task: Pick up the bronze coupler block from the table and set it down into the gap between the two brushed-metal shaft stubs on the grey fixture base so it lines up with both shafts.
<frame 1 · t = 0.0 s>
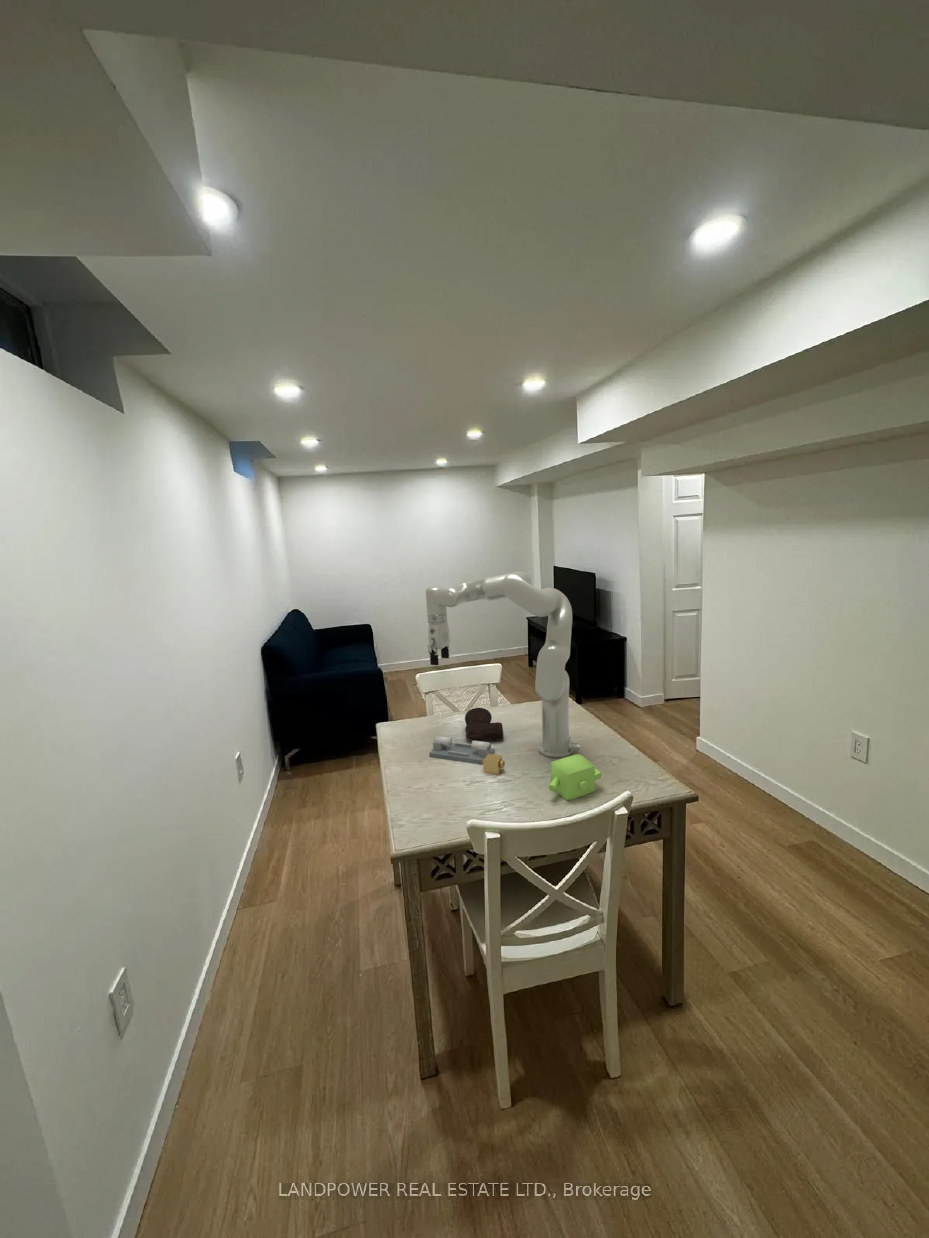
hand: (440, 661, 192), 31 cm above the table, fingers open, 9 cm apart
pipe: (484, 736, 197), on the table
coupler: (493, 770, 168), on the table
grey fixture base: (462, 754, 181), on the table
gearbox: (572, 792, 153), on the table
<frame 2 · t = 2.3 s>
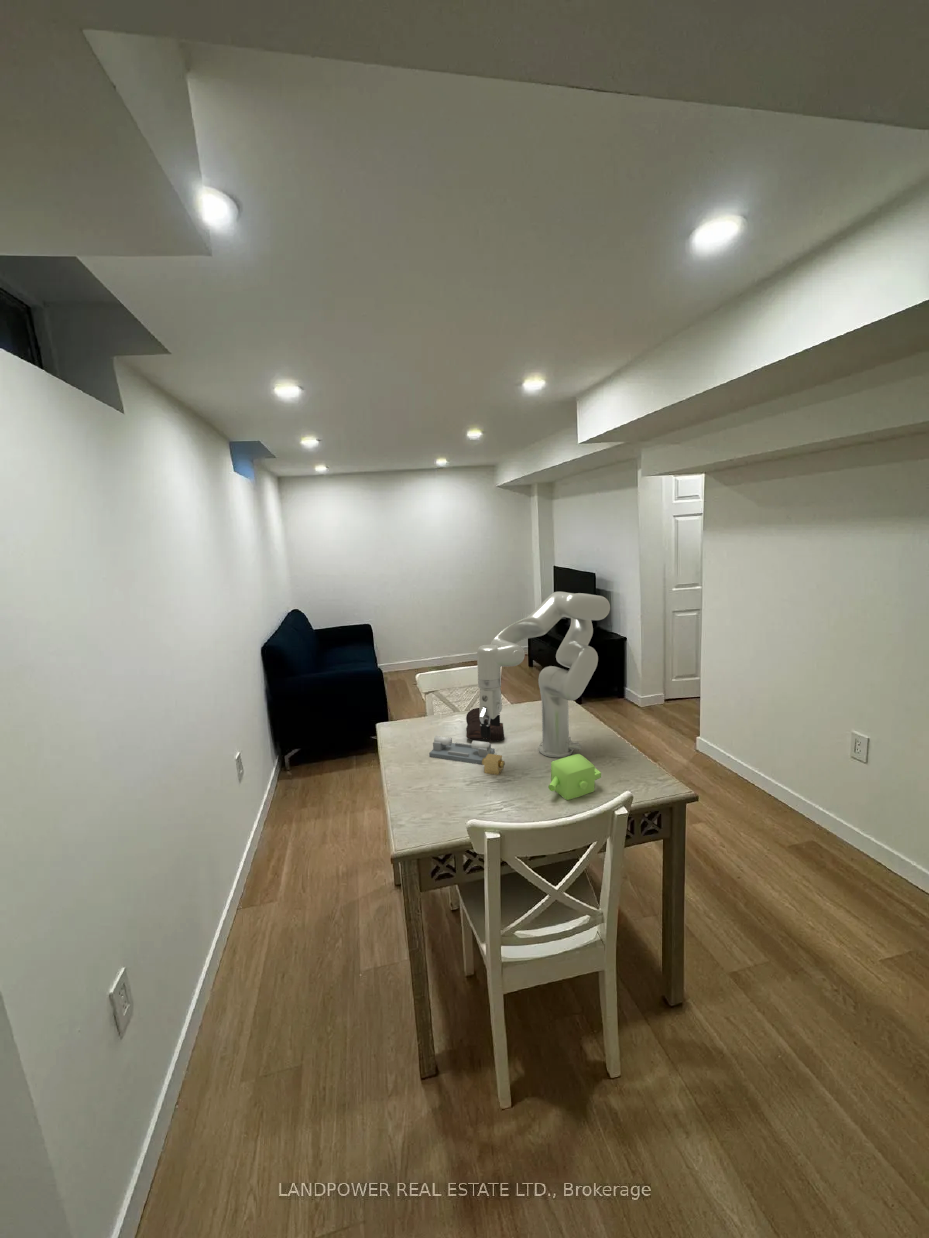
hand: (490, 731, 165), 15 cm above the table, fingers open, 9 cm apart
nothing on the table moved.
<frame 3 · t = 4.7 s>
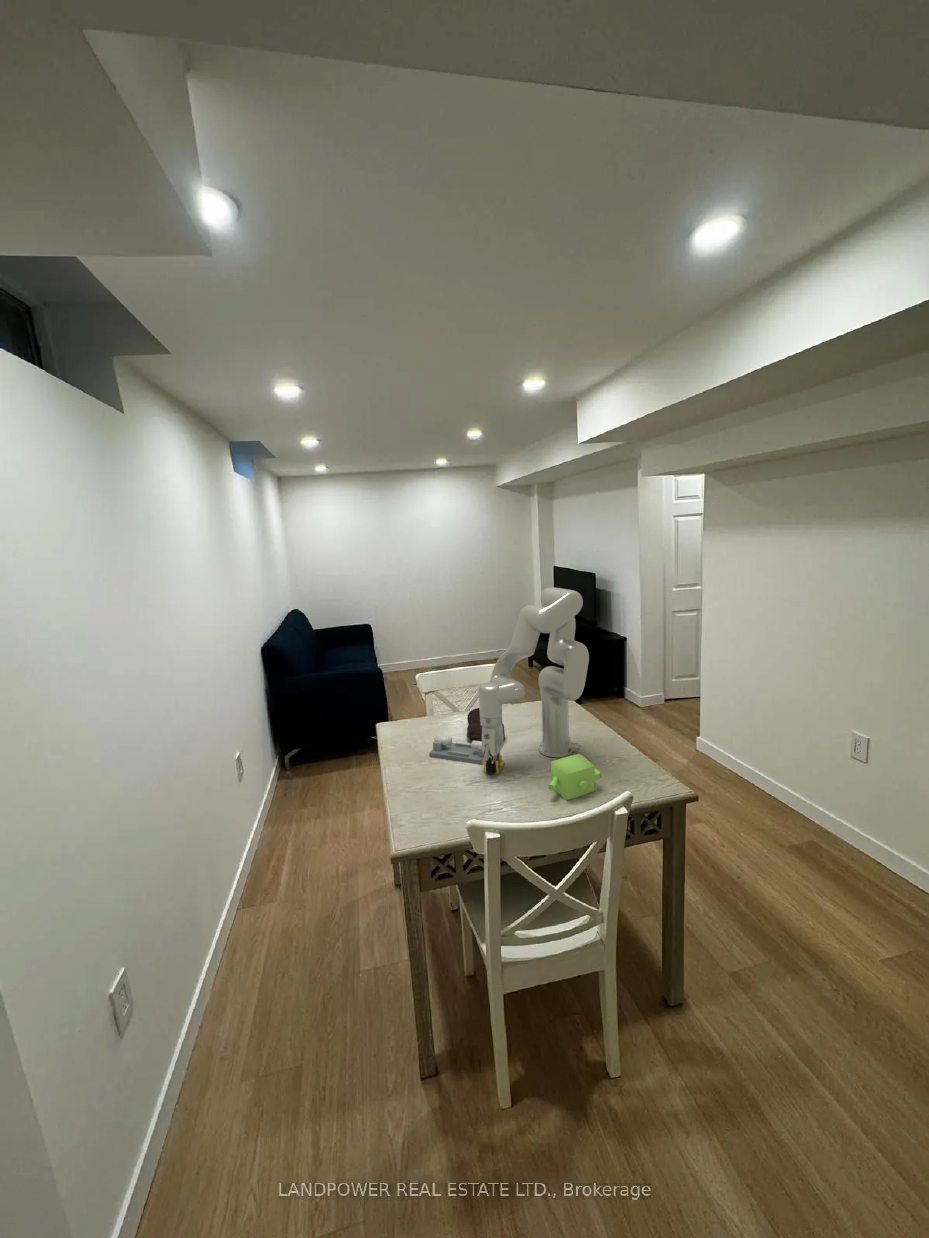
hand: (493, 769, 168), 1 cm above the table, fingers closed on coupler, 4 cm apart
coupler: (493, 770, 168), on the table, touching gripper
everything else where it was.
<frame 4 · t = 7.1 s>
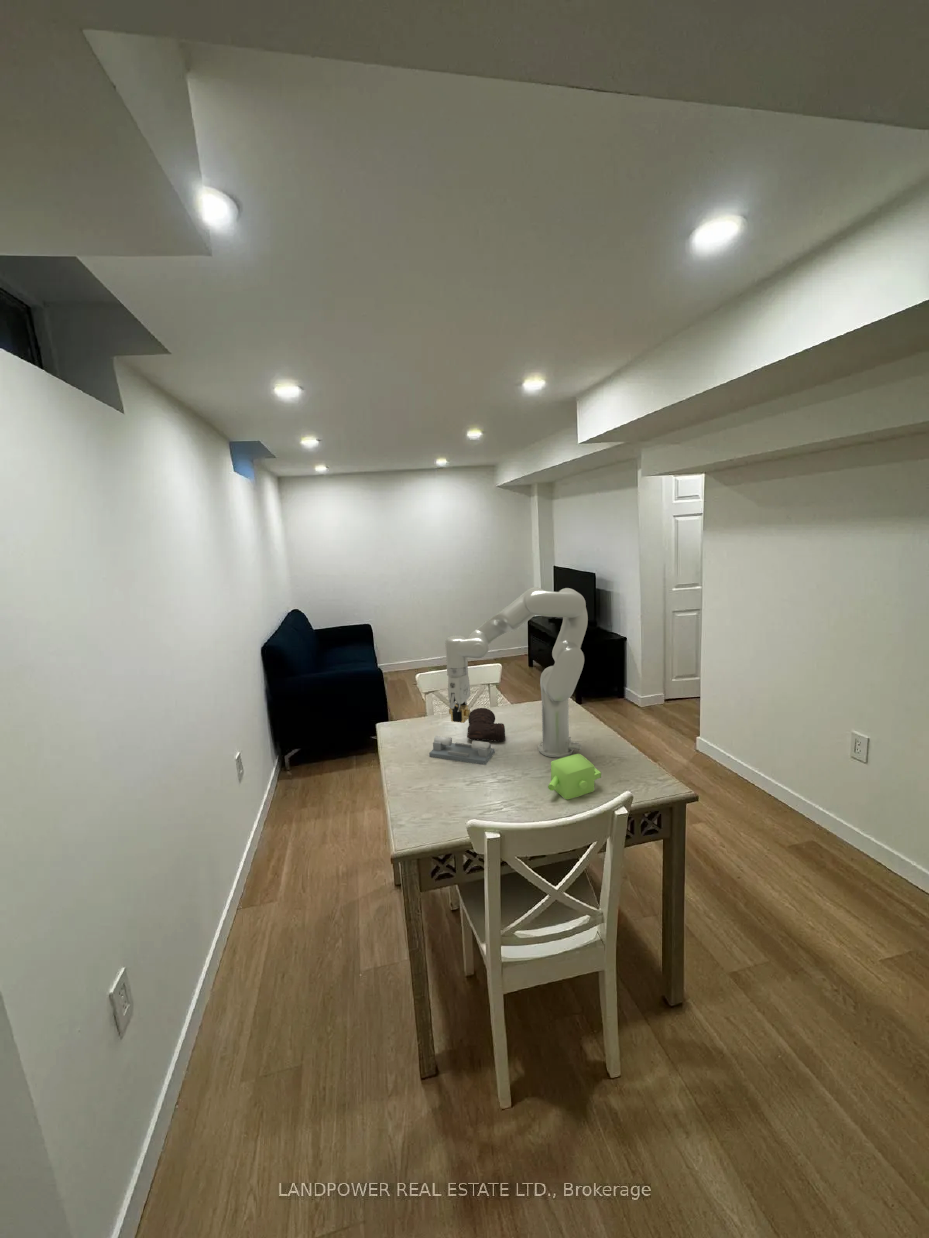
hand: (460, 718, 178), 14 cm above the table, fingers closed on coupler, 4 cm apart
coupler: (459, 719, 178), point 14 cm above the table, touching gripper
when the fingers open (4 cm above the table, at t = 9.6 s): coupler drops 2 cm, resting on grey fixture base.
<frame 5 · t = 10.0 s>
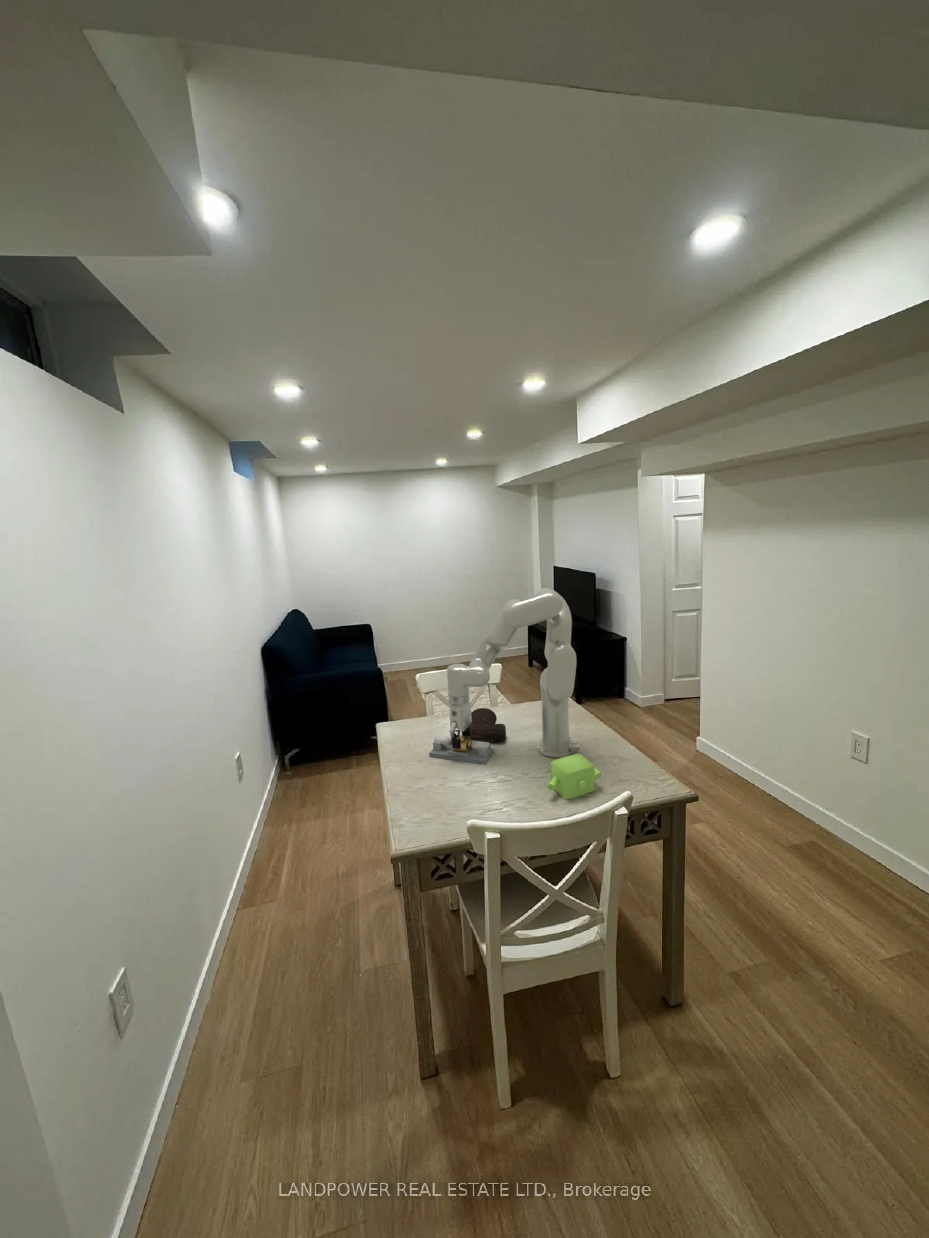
hand: (461, 742, 180), 5 cm above the table, fingers open, 8 cm apart
coupler: (462, 750, 181), point 1 cm above the table, touching grey fixture base
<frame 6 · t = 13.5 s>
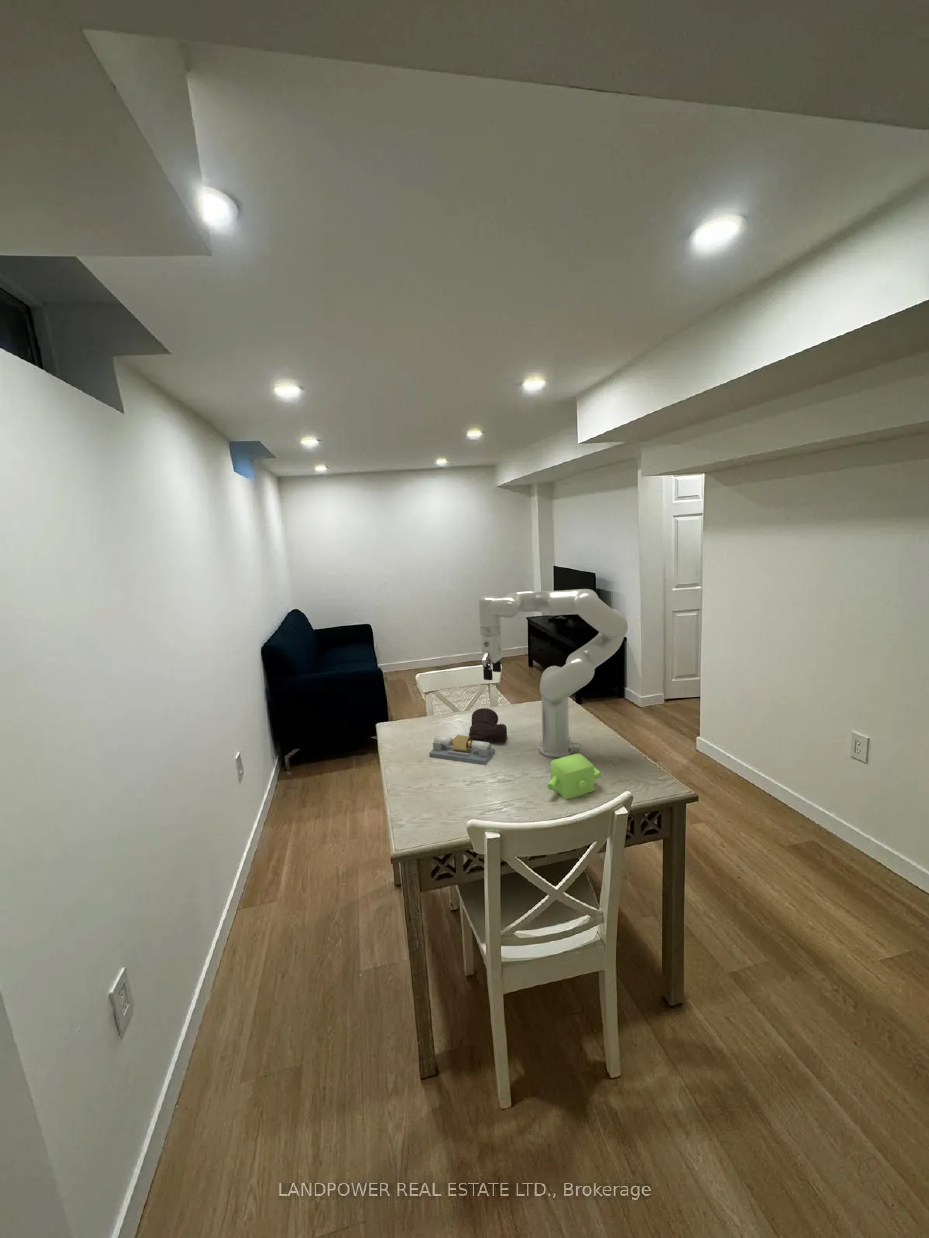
hand: (492, 675, 180), 28 cm above the table, fingers open, 9 cm apart
at the end: coupler 0.1 cm off-centre on the grey fixture base, point 1.5 cm above the grey fixture base's base; coupler tilted 0°; the gripper is holding nothing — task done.
